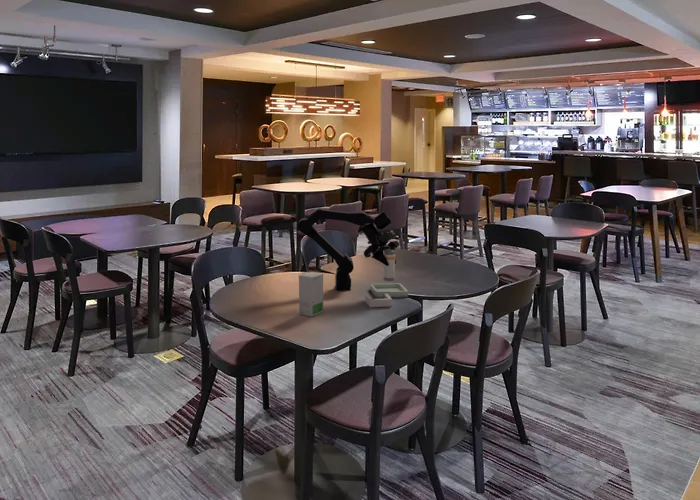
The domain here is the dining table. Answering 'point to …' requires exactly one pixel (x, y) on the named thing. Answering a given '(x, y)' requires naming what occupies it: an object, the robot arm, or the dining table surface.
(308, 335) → the dining table surface
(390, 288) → the tray
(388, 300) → the tray
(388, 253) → the white cylinder
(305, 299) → the skincare box
